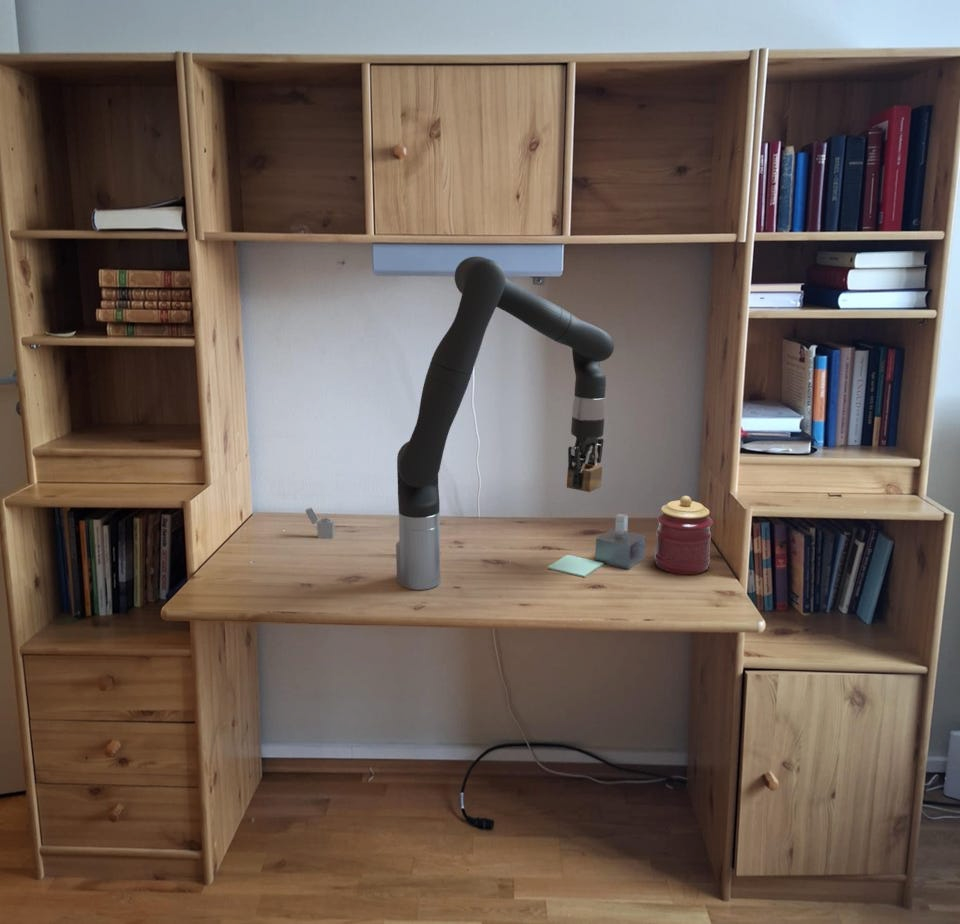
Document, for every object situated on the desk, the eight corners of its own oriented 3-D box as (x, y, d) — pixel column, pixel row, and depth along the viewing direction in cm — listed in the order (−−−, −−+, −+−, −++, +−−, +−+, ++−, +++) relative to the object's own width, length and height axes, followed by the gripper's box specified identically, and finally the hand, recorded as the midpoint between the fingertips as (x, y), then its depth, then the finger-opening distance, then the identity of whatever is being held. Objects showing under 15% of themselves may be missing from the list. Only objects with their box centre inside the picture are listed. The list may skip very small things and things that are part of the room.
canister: (698, 579, 204) (703, 507, 199) (646, 568, 210) (649, 498, 206) (716, 562, 214) (721, 493, 210) (665, 552, 221) (669, 485, 217)
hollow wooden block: (566, 487, 207) (567, 467, 205) (578, 482, 212) (579, 462, 210) (589, 492, 204) (590, 471, 202) (600, 486, 208) (602, 466, 207)
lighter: (334, 536, 233) (333, 507, 230) (333, 538, 231) (331, 509, 229) (308, 535, 233) (306, 506, 231) (306, 537, 231) (305, 508, 229)
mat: (547, 568, 210) (547, 567, 210) (567, 556, 218) (567, 554, 218) (584, 577, 205) (584, 575, 205) (603, 564, 213) (603, 562, 213)
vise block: (595, 561, 215) (596, 517, 212) (611, 550, 222) (613, 507, 219) (629, 569, 210) (631, 523, 207) (644, 558, 217) (646, 514, 214)
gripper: (587, 408, 211) (583, 476, 215) (559, 417, 199) (555, 488, 204) (616, 413, 207) (611, 481, 211) (589, 422, 195) (584, 494, 200)
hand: (583, 484), depth 207 cm, fingers closed on hollow wooden block, 6 cm apart
